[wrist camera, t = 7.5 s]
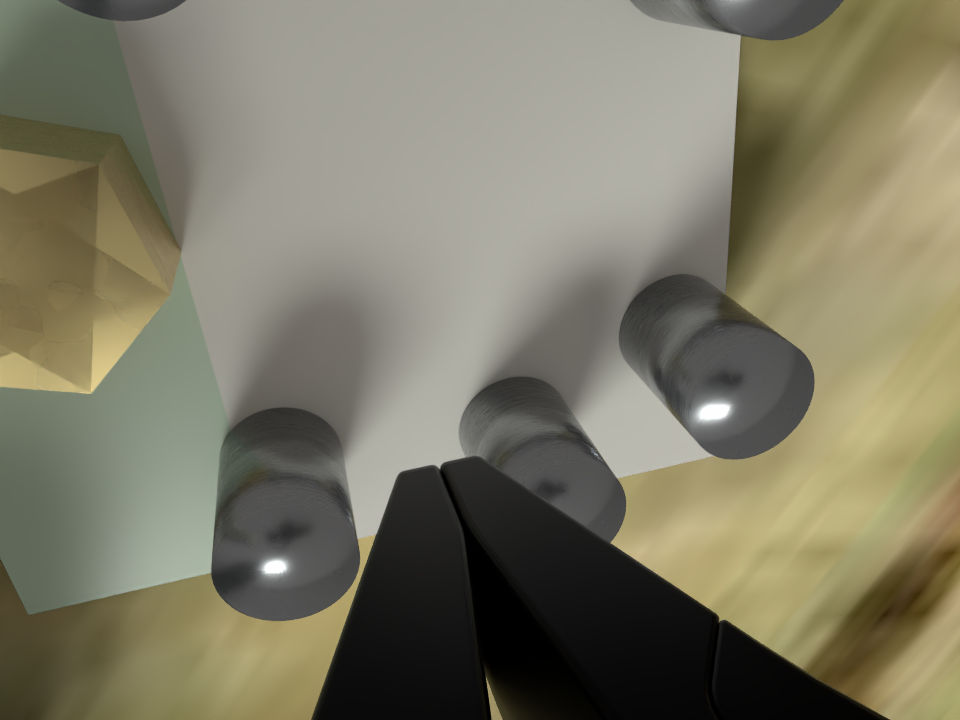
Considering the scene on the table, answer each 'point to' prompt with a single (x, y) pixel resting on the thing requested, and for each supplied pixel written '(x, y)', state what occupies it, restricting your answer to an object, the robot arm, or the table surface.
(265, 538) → the spacer posts
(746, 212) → the table surface
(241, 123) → the tray
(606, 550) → the robot arm
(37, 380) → the yellow faceted gem
